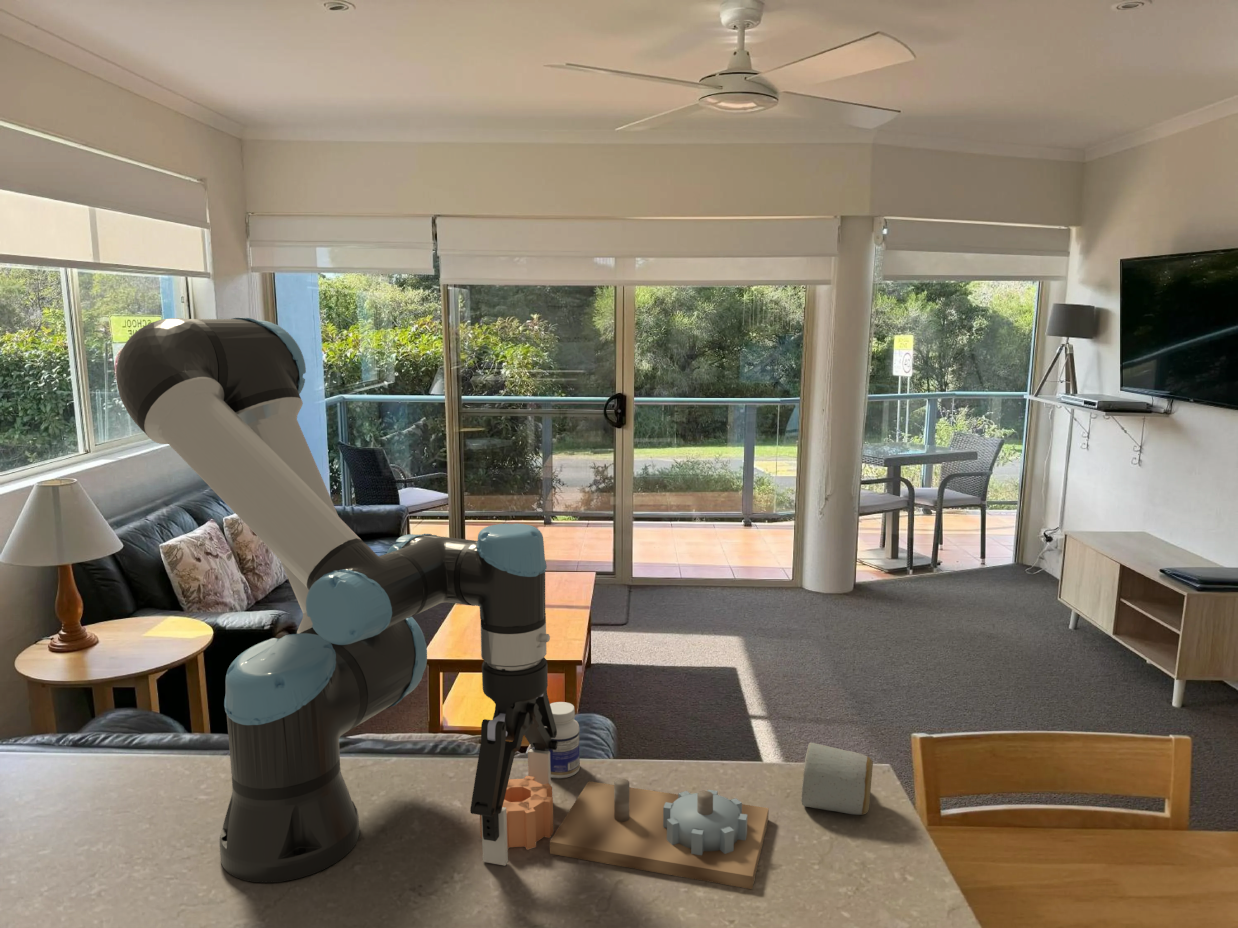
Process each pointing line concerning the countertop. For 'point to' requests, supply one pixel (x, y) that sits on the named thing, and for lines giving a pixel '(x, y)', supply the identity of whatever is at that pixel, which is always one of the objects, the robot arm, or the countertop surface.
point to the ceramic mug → (836, 780)
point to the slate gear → (705, 823)
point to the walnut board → (652, 835)
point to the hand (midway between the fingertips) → (519, 829)
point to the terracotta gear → (527, 812)
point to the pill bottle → (565, 741)
